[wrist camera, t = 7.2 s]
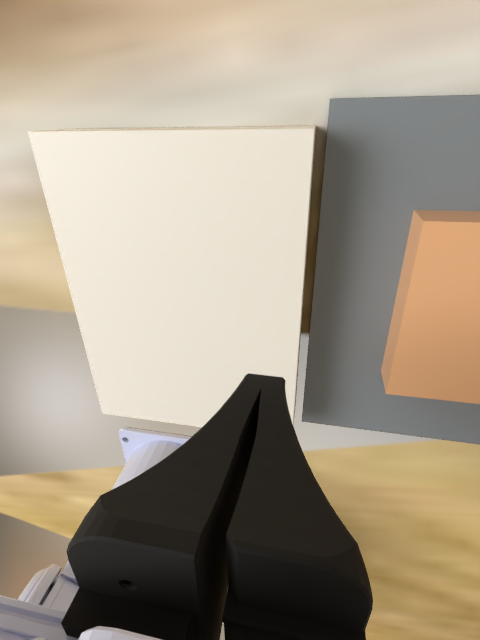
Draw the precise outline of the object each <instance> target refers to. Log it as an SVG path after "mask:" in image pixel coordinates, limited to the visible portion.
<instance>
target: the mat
mask: <svg viewBox="0 0 480 640" xmlns="http://www.w3.org/2000/svg"><path fill="white" fill-rule="evenodd" d="M413 210H441V211H480V95H455V96H415V97H375V98H335V99H330V106H329V117H328V129H327V140H326V152H325V163H324V174H323V186H322V197H321V208H320V220H319V231H318V243H317V254H316V265H315V277H314V288H313V300H312V311H311V322H310V334H309V345H308V357H307V368H306V379H305V380H306V381H305V391H304V403H303V413H302V421H303V422H310V423H318V424H326V425H334V426H341V427H349V428H357V429H364V430H372V431H380V432H388V433H396V434H403V435H411V436H419V437H426V438H434V439H442V440H450V441H457V442H465V443H473V444H480V404H474V403H465V402H456V401H446V400H437V399H428V398H419V397H409V396H400V395H391V394H386V392H385V388H384V383H383V379H382V374H381V368H382V363H383V358H384V353H385V348H386V343H387V338H388V334H389V329H390V324H391V319H392V314H393V309H394V304H395V299H396V294H397V289H398V284H399V279H400V274H401V270H402V265H403V260H404V255H405V250H406V245H407V240H408V235H409V230H410V225H411V220H412V215H413Z"/></svg>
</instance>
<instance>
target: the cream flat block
mask: <svg viewBox="0 0 480 640" xmlns="http://www.w3.org/2000/svg"><path fill="white" fill-rule="evenodd" d="M315 133H316V126H264V127H183V128H102V129H61V130H46V131H31V132H28V134H29V138H30V142H31V145H32V149H33V153H34V157H35V161H36V164H37V168H38V172H39V176H40V179H41V183H42V187H43V191H44V195H45V198H46V202H47V206H48V210H49V213H50V217H51V221H52V225H53V229H54V232H55V236H56V240H57V244H58V248H59V251H60V255H61V259H62V263H63V266H64V270H65V274H66V278H67V282H68V285H69V289H70V293H71V297H72V300H73V304H74V308H75V312H76V316H77V319H78V323H79V327H80V331H81V334H82V338H83V342H84V345H85V350H86V353H87V357H88V361H89V364H90V369H91V372H92V376H93V380H94V384H95V387H96V391H97V395H98V398H99V402H100V406H101V410H102V413H103V414H110V415H117V416H125V417H133V418H139V419H146V420H154V421H161V422H168V423H175V424H183V425H190V426H197V427H203V426H204V425H205V424H206V423H207V422H208V421H209V420H210V419H211V418H212V417H213V416H214V415H215V414H216V412H217V411H218V410H219V409H220V408H221V407H222V406H223V404H224V403H225V402H226V401H227V400H228V398H229V397H230V396H231V395H232V393H233V392H234V391H235V390H236V388H237V387H238V386H239V384H240V383H241V381H242V380H243V378H244V377H245V375H247V374H248V373H250V374H258V375H267V376H276V377H283V378H284V379H285V380H286V382H285V392H286V399H287V405H288V409H289V413H290V417H291V420H292V424H293V423H294V413H295V402H296V390H297V376H298V363H299V349H300V336H301V322H302V309H303V295H304V282H305V268H306V255H307V241H308V228H309V214H310V201H311V187H312V174H313V160H314V147H315Z"/></svg>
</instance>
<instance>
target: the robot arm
mask: <svg viewBox="0 0 480 640" xmlns="http://www.w3.org/2000/svg"><path fill="white" fill-rule="evenodd" d="M285 382H286V380H285V379H284V378H283V377H276V376H267V375H258V374H250V373H248V374H247V375H245V377H244V378H243V380H242V381H241V383H240V384H239V386H238V387H237V388H236V390H235V391H234V392H233V393H232V395H231V396H230V397H229V398H228V400H227V401H226V402H225V403H224V404H223V406H222V407H221V408H220V409H219V410H218V411H217V412H216V414H215V415H214V416H213V417H212V418H211V419H210V420H209V421H208V422H207V423H206V424H205V425H204V426H203V427H202V428H201V429H200V430H199V431H198V432H197V433H196V434H194V435H193V436H186V435H179V434H172V433H164V432H158V431H151V430H143V429H137V428H130V427H122V428H121V429H120V431H119V437H120V441H121V445H122V449H123V453H124V457H125V462H126V465H125V467H124V468H123V470H122V472H121V474H120V475H119V477H118V479H117V481H116V483H115V484H114V486H113V488H112V490H111V491H109V492H107V493H105V494H103V495H101V496H100V497H99V498H98V500H97V501H96V503H95V504H94V505H93V506H92V508H91V509H90V511H89V512H88V513H87V515H86V516H85V518H84V519H83V521H82V523H81V525H80V526H79V528H78V530H77V531H76V533H75V535H74V536H73V538H72V540H71V542H70V543H69V545H68V549H67V555H68V560H69V561H68V562H67V564H66V566H65V568H64V570H63V571H62V573H61V575H60V574H59V573H60V570H61V567H59V566H58V565H56V564H51V565H50V566H49V567H48V568H45V569H43V570H40V571H38V572H37V573H36V574H35V575H34V576H33V578H32V579H31V581H30V582H29V583H28V585H27V586H26V588H25V589H24V591H23V592H22V594H21V595H20V597H19V598H18V600H17V599H13V598H9V597H5V596H1V595H0V640H219V639H220V633H221V627H222V622H224V629H225V630H224V631H225V640H366V637H365V629H366V626H367V623H368V620H369V617H370V614H371V611H372V605H373V598H372V591H371V587H370V582H369V578H368V574H367V571H366V568H365V564H364V561H363V558H362V555H361V553H360V550H359V547H358V544H357V542H356V541H355V540H354V538H353V537H352V536H351V534H350V533H349V532H348V530H347V529H346V527H345V526H344V524H343V523H342V522H341V520H340V519H339V517H338V516H337V514H336V513H335V511H334V510H333V508H332V506H331V505H330V503H329V502H328V500H327V498H326V497H325V495H324V493H323V491H322V490H321V488H320V486H319V484H318V482H317V481H316V479H315V477H314V475H313V473H312V471H311V469H310V467H309V465H308V463H307V461H306V458H305V456H304V454H303V452H302V449H301V447H300V444H299V442H298V439H297V436H296V433H295V430H294V427H293V424H292V420H291V417H290V413H289V409H288V405H287V399H286V392H285ZM227 590H228V591H227Z"/></svg>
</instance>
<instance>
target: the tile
mask: <svg viewBox="0 0 480 640" xmlns="http://www.w3.org/2000/svg"><path fill="white" fill-rule="evenodd" d="M381 374H382V379H383V383H384V388H385V392H386V394H391V395H400V396H409V397H419V398H428V399H437V400H446V401H456V402H465V403H474V404H480V211H441V210H413V215H412V220H411V225H410V230H409V235H408V240H407V245H406V250H405V255H404V260H403V265H402V270H401V274H400V279H399V284H398V289H397V294H396V299H395V304H394V309H393V314H392V319H391V324H390V329H389V334H388V338H387V343H386V348H385V353H384V358H383V363H382V368H381Z"/></svg>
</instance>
